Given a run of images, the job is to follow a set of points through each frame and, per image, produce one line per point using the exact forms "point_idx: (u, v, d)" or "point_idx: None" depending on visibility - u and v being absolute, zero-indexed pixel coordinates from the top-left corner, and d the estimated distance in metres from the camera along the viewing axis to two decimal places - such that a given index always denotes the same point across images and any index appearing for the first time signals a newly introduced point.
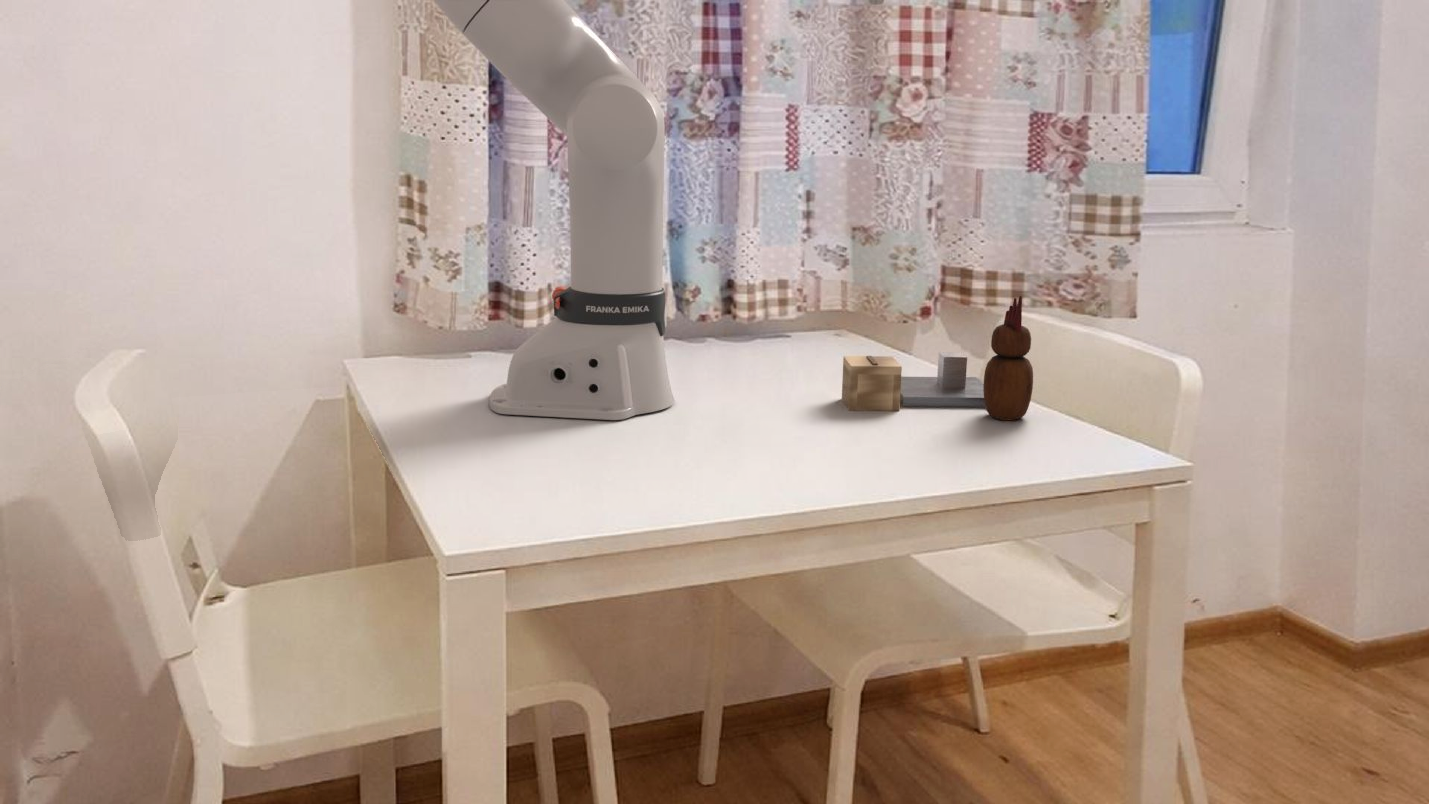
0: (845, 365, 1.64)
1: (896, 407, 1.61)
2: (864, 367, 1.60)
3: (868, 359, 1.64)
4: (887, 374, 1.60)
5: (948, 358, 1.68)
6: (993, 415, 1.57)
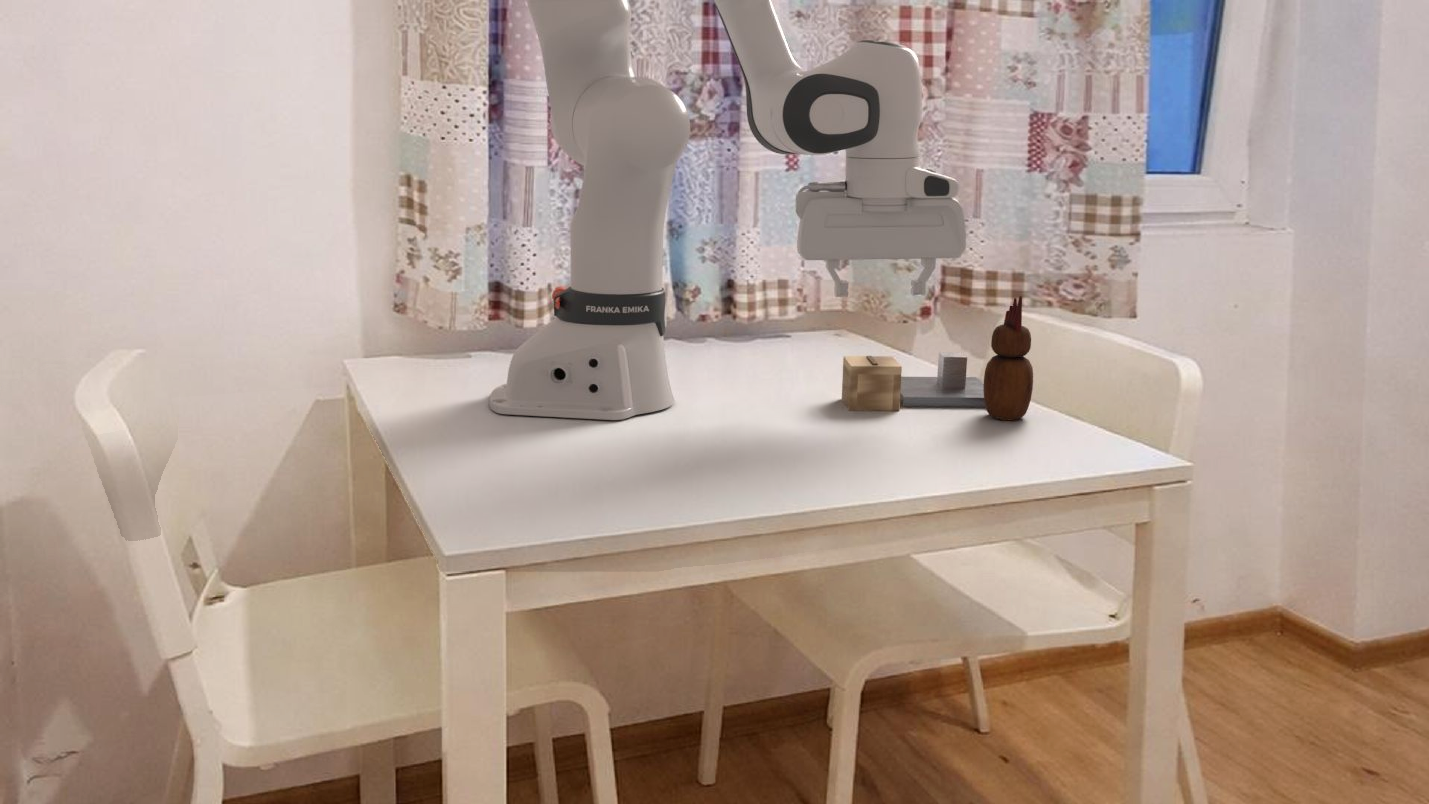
0: (845, 365, 1.64)
1: (896, 407, 1.61)
2: (864, 367, 1.60)
3: (868, 359, 1.64)
4: (887, 374, 1.60)
5: (948, 358, 1.68)
6: (993, 415, 1.57)
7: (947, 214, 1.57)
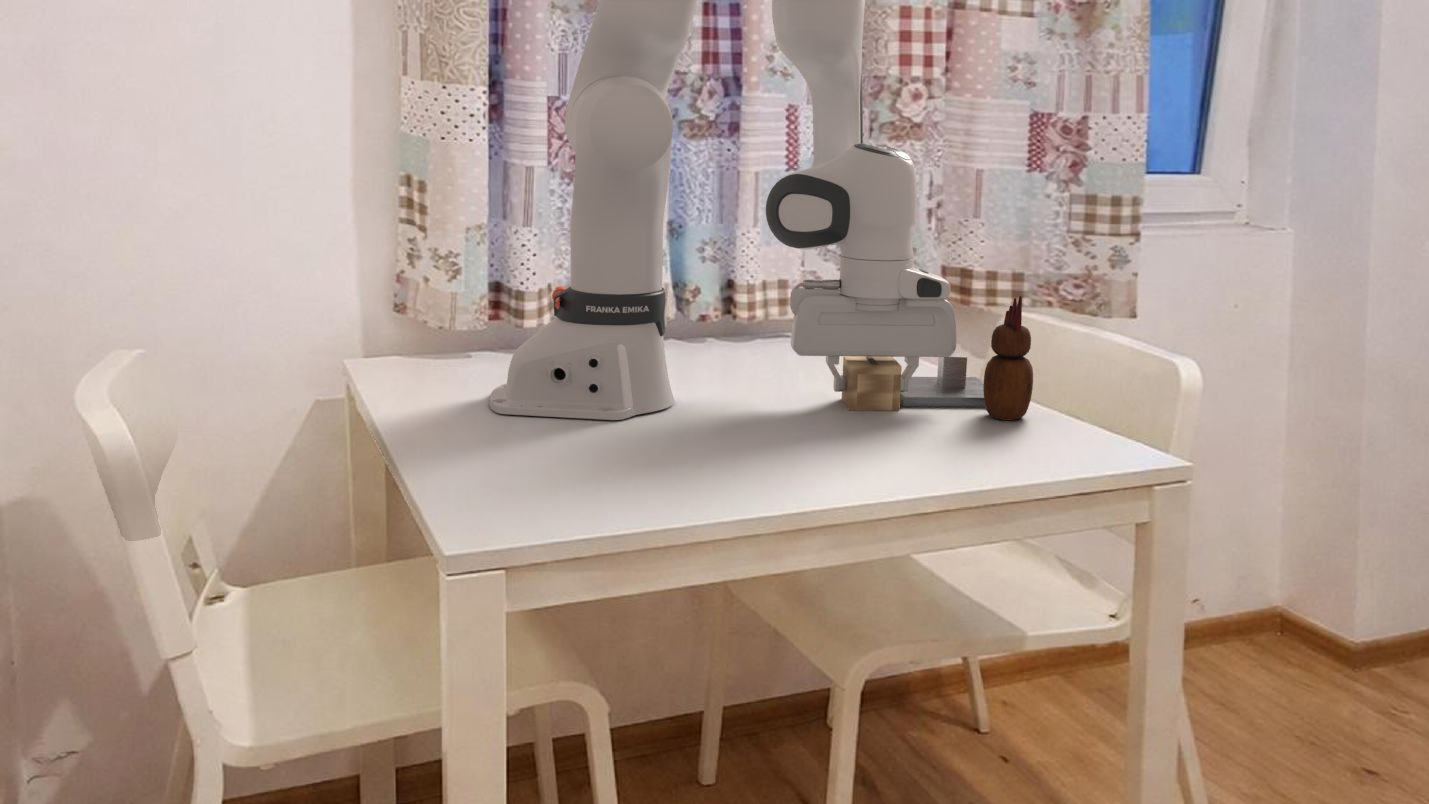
0: (845, 365, 1.64)
1: (896, 407, 1.61)
2: (864, 367, 1.60)
3: (868, 359, 1.64)
4: (887, 374, 1.60)
5: (948, 358, 1.68)
6: (993, 415, 1.57)
7: (939, 314, 1.60)
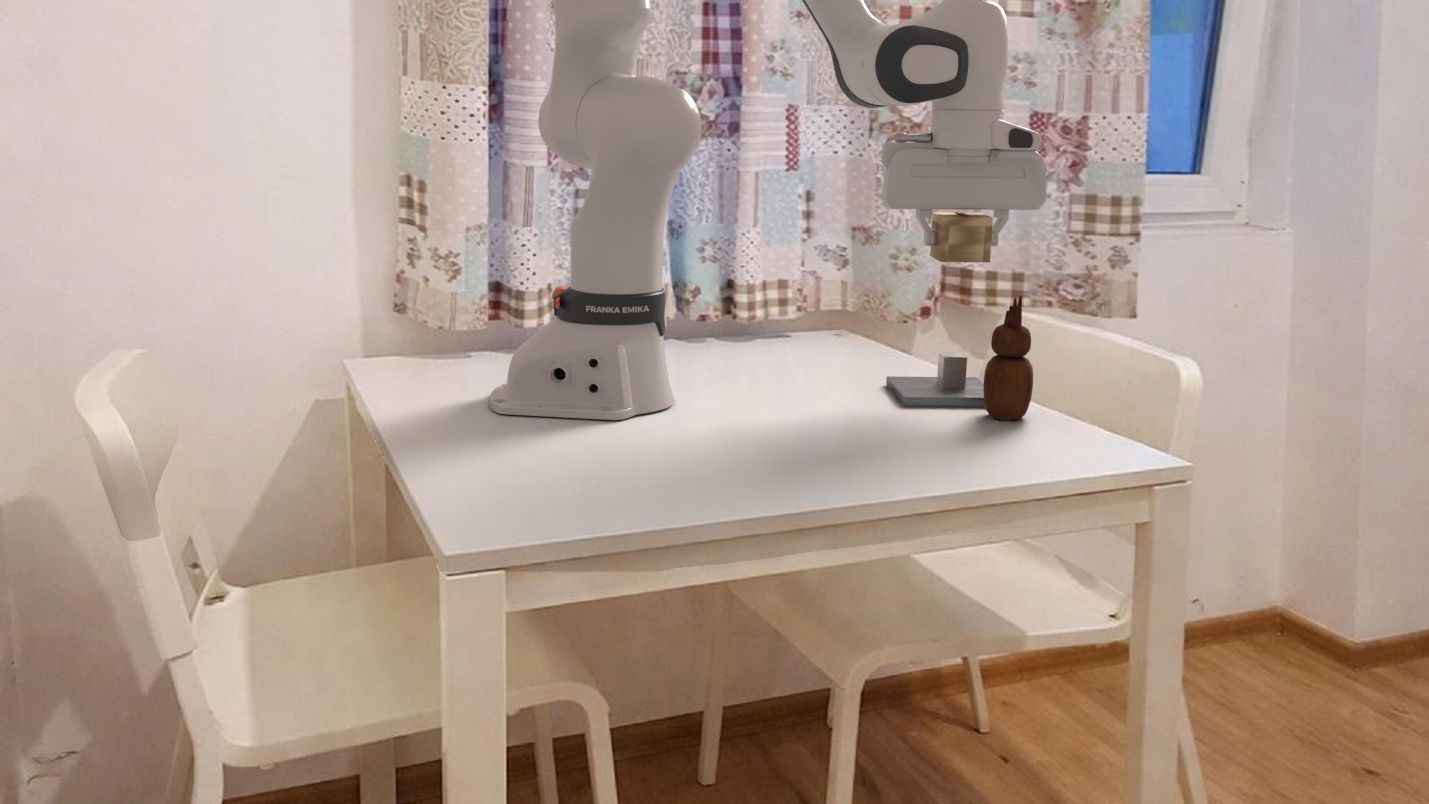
0: (935, 220, 1.66)
1: (987, 259, 1.64)
2: (956, 218, 1.62)
3: (958, 214, 1.66)
4: (978, 226, 1.62)
5: (948, 358, 1.68)
6: (993, 415, 1.57)
7: (1029, 166, 1.62)
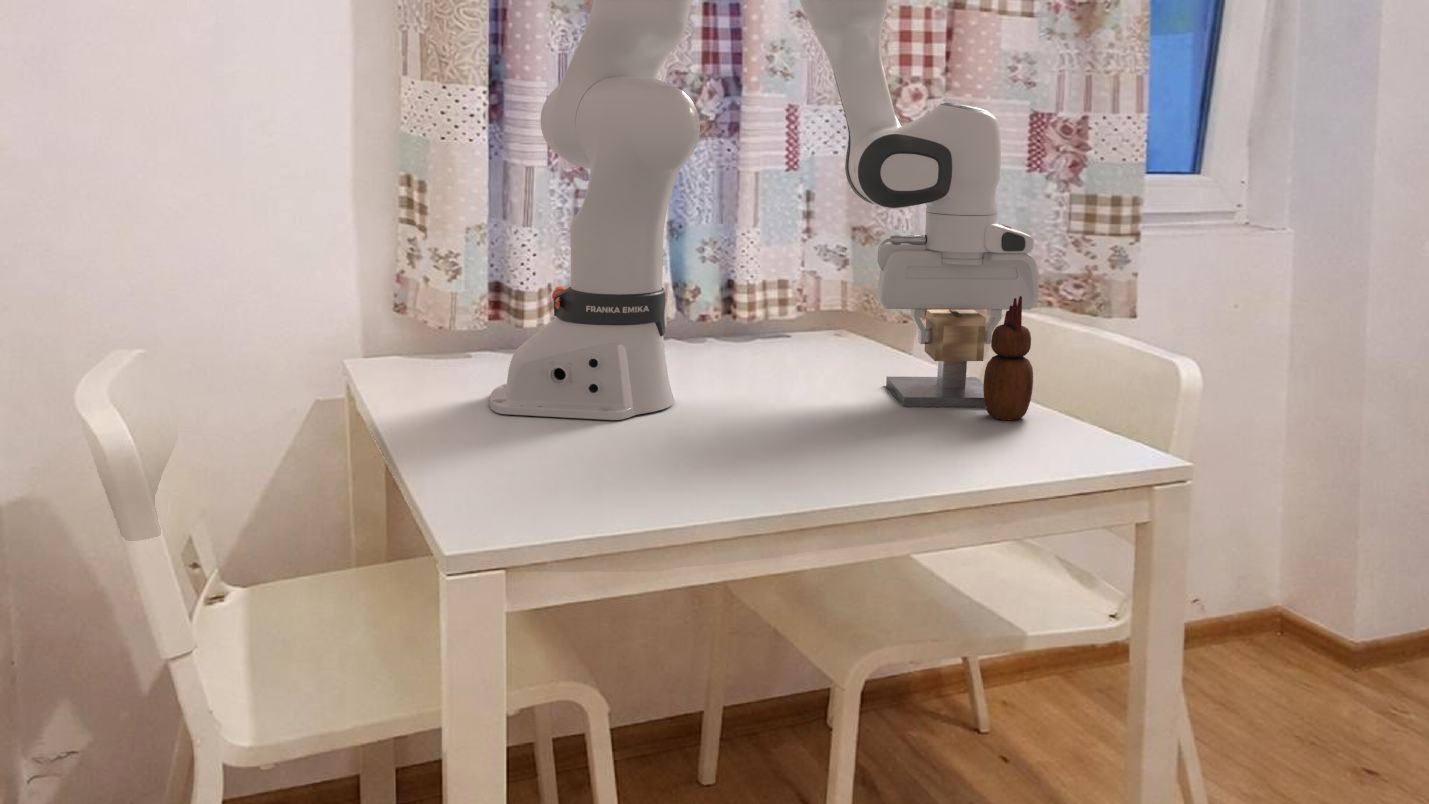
0: (929, 318, 1.70)
1: (980, 358, 1.67)
2: (950, 319, 1.65)
3: (951, 312, 1.69)
4: (971, 326, 1.66)
5: None
6: (993, 415, 1.57)
7: (1022, 268, 1.65)
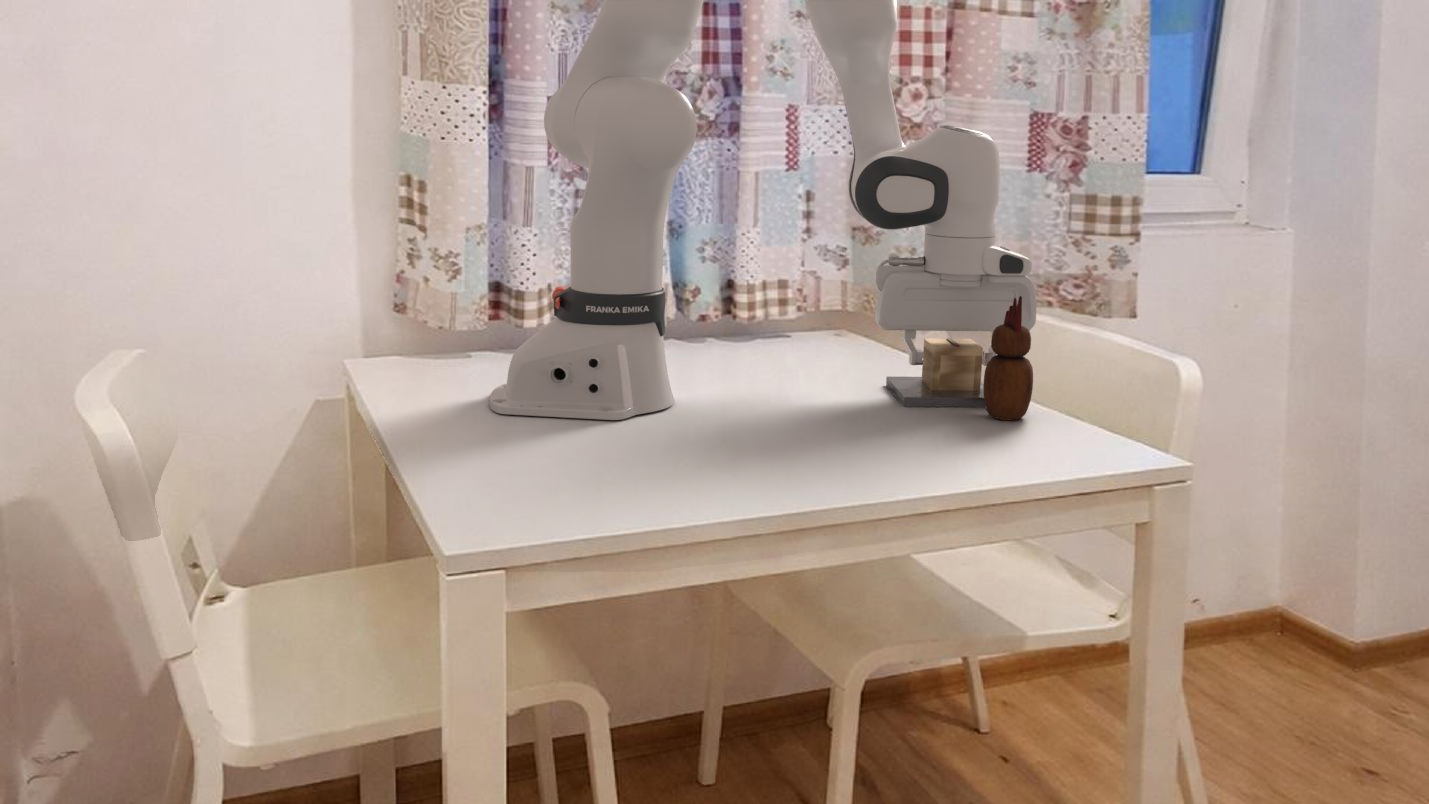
0: (926, 347, 1.70)
1: (977, 387, 1.67)
2: (947, 348, 1.66)
3: (949, 341, 1.70)
4: (968, 356, 1.66)
5: None
6: (993, 415, 1.57)
7: (1020, 290, 1.66)
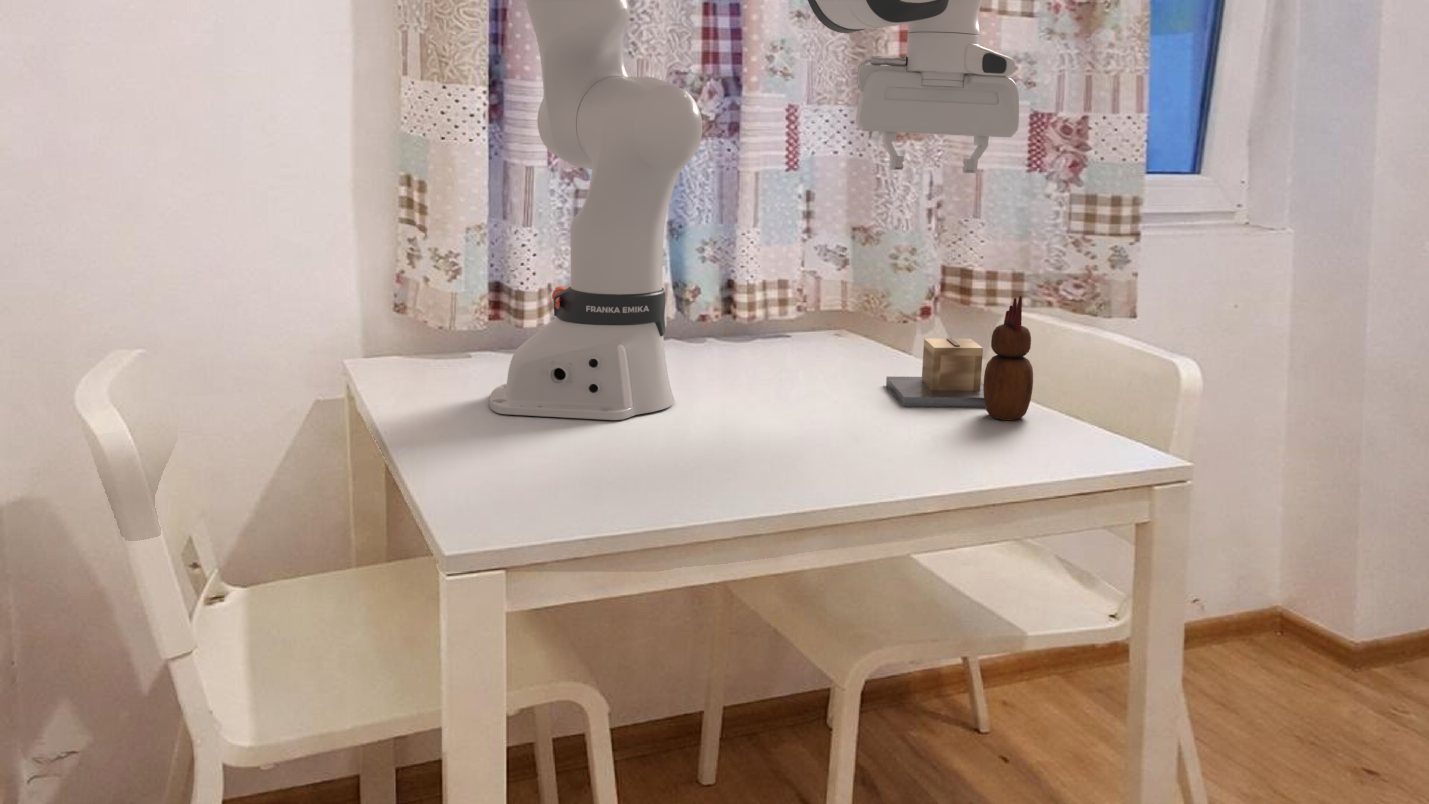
0: (926, 347, 1.70)
1: (977, 387, 1.67)
2: (947, 348, 1.66)
3: (949, 341, 1.70)
4: (968, 356, 1.66)
5: None
6: (993, 415, 1.57)
7: (1002, 93, 1.64)
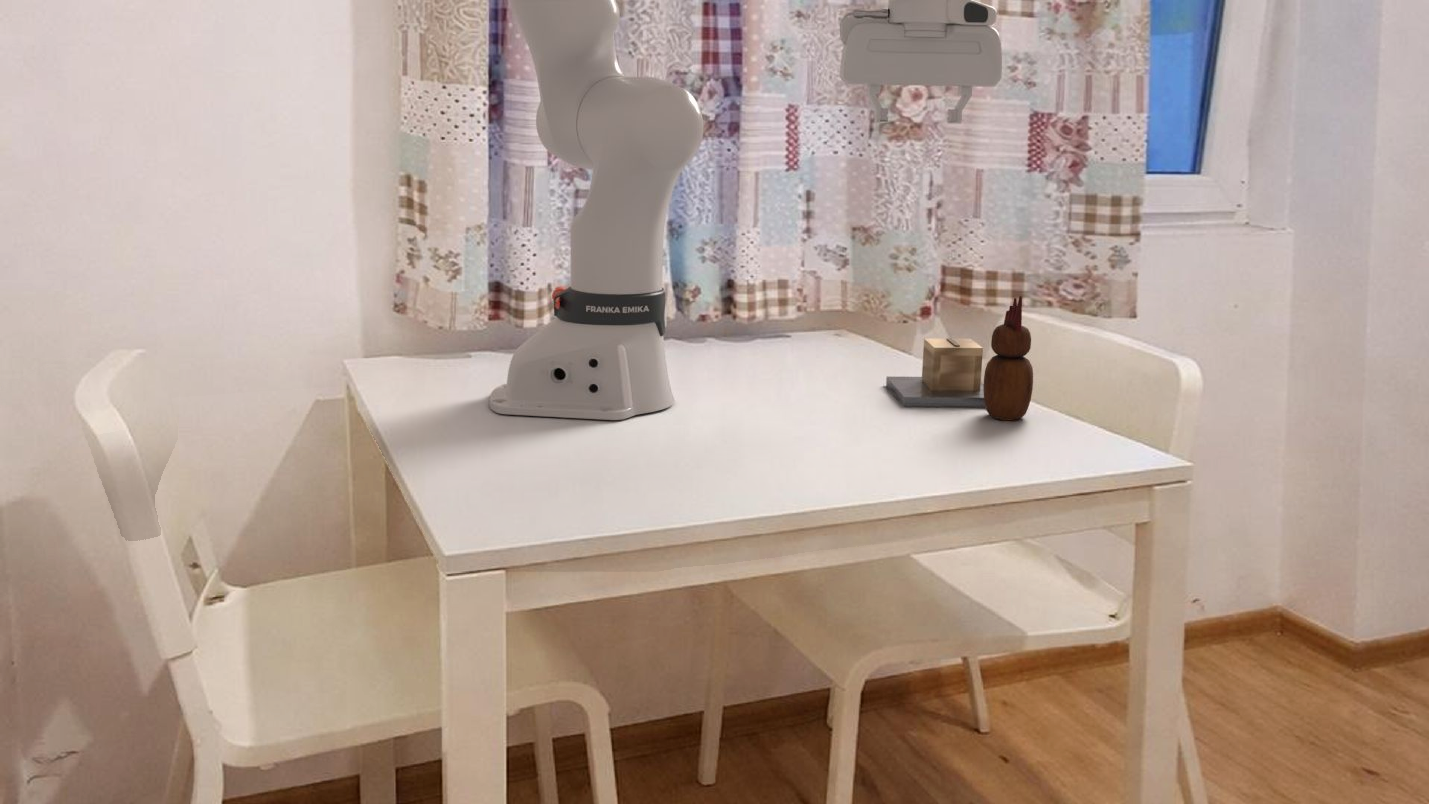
0: (926, 347, 1.70)
1: (977, 387, 1.67)
2: (947, 348, 1.66)
3: (949, 341, 1.70)
4: (968, 356, 1.66)
5: None
6: (993, 415, 1.57)
7: (985, 42, 1.64)
